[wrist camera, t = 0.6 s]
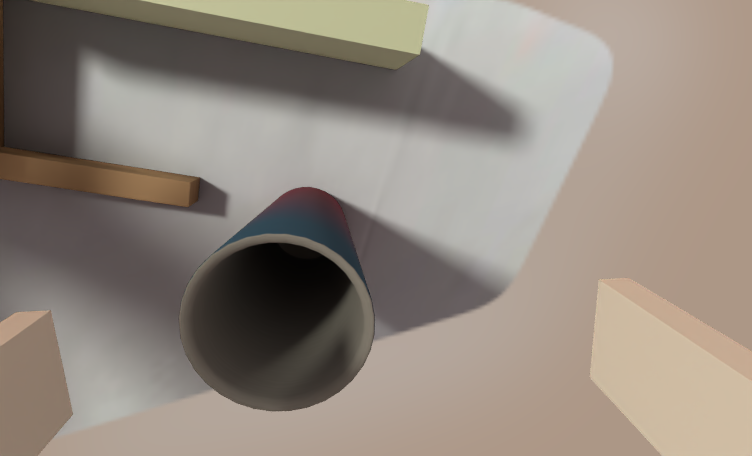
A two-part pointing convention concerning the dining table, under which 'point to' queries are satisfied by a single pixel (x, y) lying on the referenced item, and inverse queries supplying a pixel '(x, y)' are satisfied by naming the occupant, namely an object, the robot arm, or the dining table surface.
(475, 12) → the dining table surface
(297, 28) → the wall board
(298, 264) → the cup
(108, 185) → the bracket
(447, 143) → the dining table surface
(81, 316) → the dining table surface
